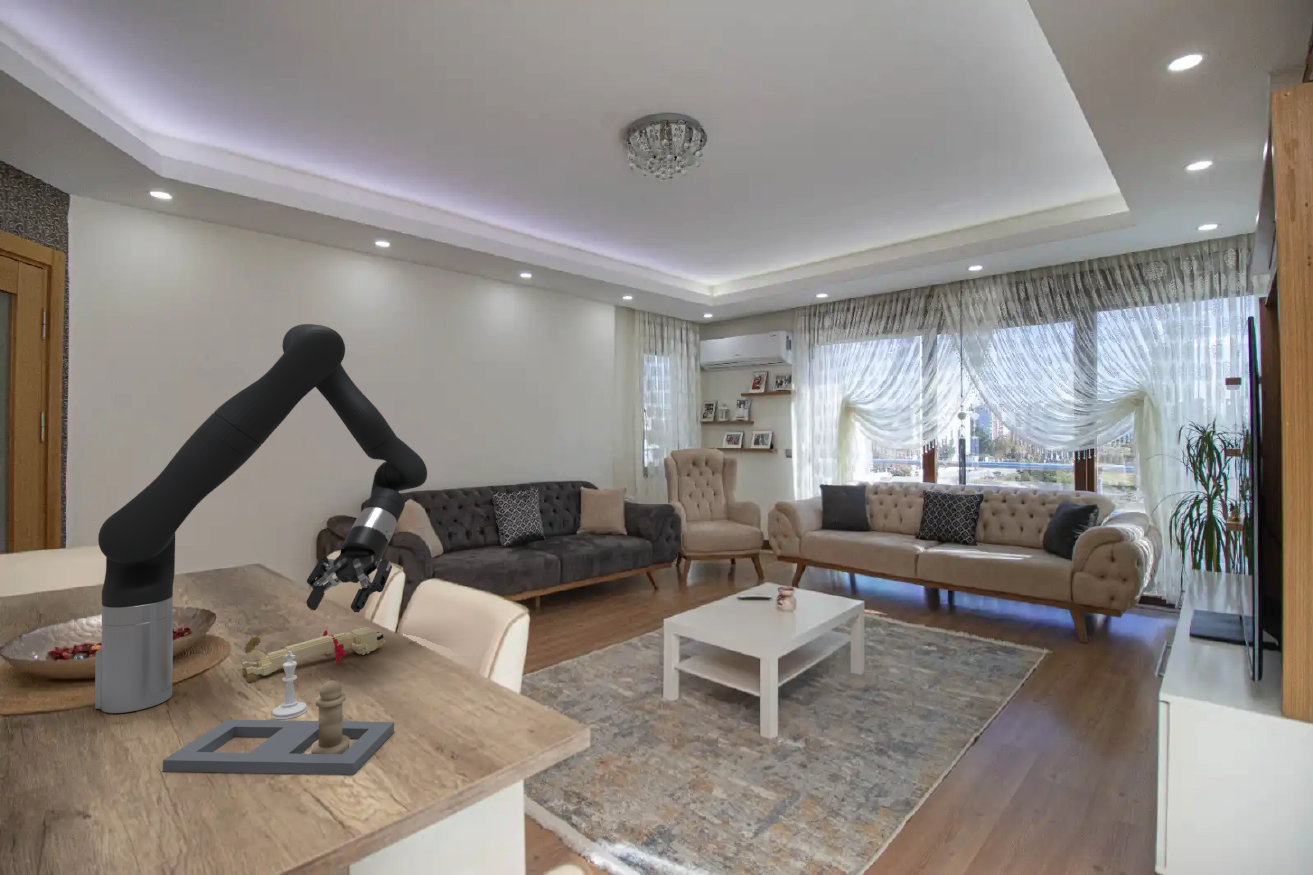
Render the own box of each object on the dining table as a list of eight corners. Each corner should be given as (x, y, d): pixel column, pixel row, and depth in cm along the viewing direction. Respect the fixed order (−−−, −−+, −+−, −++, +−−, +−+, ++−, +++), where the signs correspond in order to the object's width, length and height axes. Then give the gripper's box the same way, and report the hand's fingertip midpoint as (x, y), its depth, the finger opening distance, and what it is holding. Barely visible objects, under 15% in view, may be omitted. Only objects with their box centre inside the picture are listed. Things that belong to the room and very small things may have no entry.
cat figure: (252, 694, 111) (393, 650, 129) (247, 647, 111) (389, 609, 128) (241, 678, 119) (375, 639, 136) (236, 634, 118) (372, 600, 135)
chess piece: (290, 720, 98) (291, 657, 98) (264, 718, 99) (264, 655, 99) (313, 707, 103) (314, 647, 103) (288, 705, 104) (288, 645, 104)
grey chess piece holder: (162, 771, 83) (162, 760, 83) (227, 729, 95) (227, 719, 95) (353, 774, 82) (353, 763, 82) (394, 731, 94) (394, 722, 94)
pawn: (304, 759, 86) (304, 687, 86) (323, 742, 91) (323, 674, 91) (338, 760, 86) (338, 688, 86) (355, 743, 91) (355, 675, 91)
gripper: (328, 523, 121) (285, 596, 110) (396, 525, 119) (360, 599, 108) (345, 546, 126) (306, 618, 115) (410, 547, 125) (377, 621, 113)
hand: (332, 609), depth 111 cm, fingers open, 8 cm apart
